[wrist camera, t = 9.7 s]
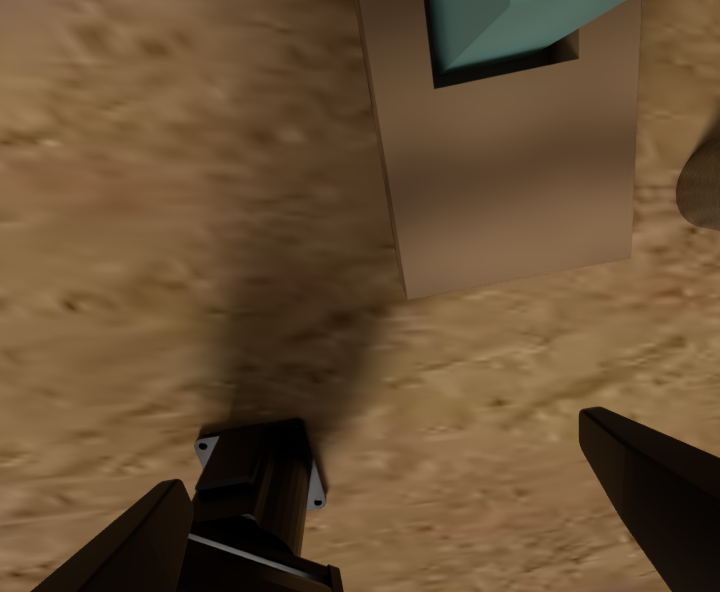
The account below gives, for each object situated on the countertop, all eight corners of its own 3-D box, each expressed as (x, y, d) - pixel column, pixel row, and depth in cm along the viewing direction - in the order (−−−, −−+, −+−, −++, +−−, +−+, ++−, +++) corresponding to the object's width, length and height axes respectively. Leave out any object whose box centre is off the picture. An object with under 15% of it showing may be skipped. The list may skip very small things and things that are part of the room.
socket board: (596, 246, 19) (630, 258, 17) (401, 283, 20) (407, 300, 18) (601, -174, 14) (652, -242, 12) (335, -112, 15) (333, -165, 12)
